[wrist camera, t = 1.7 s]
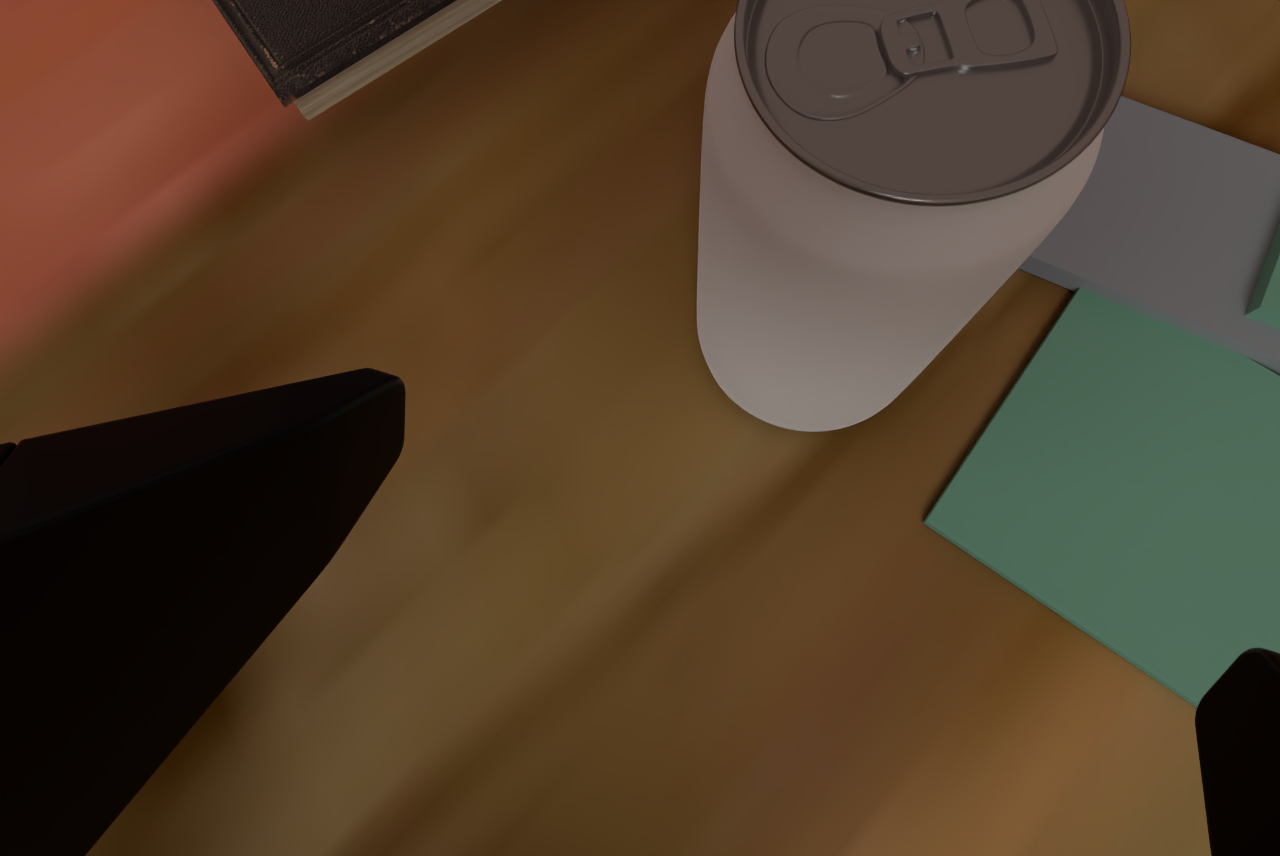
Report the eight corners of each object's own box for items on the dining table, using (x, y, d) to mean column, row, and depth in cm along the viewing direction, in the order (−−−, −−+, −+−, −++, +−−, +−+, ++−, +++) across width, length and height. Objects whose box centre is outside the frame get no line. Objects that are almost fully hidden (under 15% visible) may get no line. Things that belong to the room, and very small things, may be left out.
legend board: (1412, 227, 22) (1458, 201, 21) (1351, 407, 21) (1397, 392, 20) (833, 9, 25) (841, -25, 24) (754, 158, 24) (757, 130, 23)
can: (676, 252, 24) (664, -101, 12) (885, 209, 24) (1075, -190, 12) (723, 457, 22) (762, 276, 10) (948, 410, 22) (1237, 175, 10)
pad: (1234, 733, 20) (1243, 734, 19) (922, 522, 21) (925, 521, 21) (1392, 448, 21) (1402, 446, 21) (1087, 272, 23) (1092, 268, 22)
